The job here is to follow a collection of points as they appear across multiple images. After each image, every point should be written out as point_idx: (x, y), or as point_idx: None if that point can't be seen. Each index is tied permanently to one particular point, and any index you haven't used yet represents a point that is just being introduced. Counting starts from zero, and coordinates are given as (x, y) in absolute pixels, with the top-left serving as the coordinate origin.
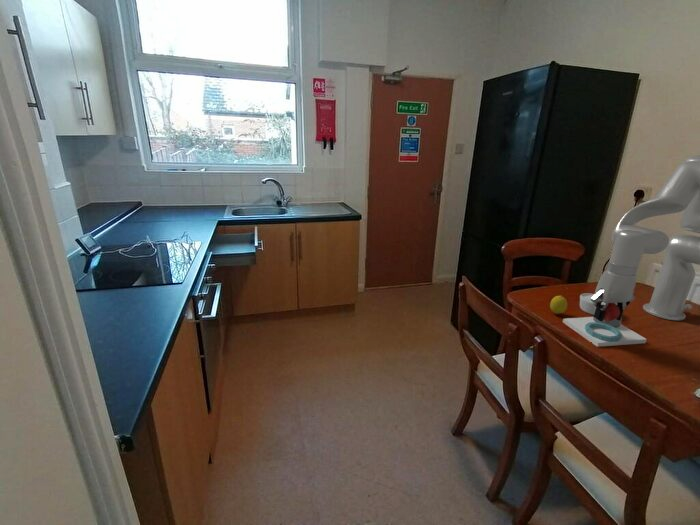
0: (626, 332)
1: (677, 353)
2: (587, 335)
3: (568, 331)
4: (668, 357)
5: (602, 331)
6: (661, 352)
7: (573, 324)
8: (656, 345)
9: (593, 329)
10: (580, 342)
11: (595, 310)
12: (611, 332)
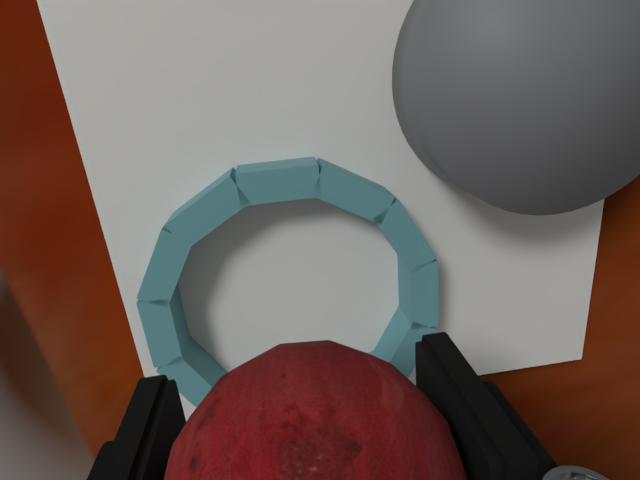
0: (521, 272)
1: (633, 429)
2: (130, 327)
3: (32, 185)
4: None
5: (320, 261)
6: (552, 427)
7: (91, 125)
8: (603, 360)
9: (256, 228)
10: (60, 354)
11: (106, 461)
12: (390, 276)
